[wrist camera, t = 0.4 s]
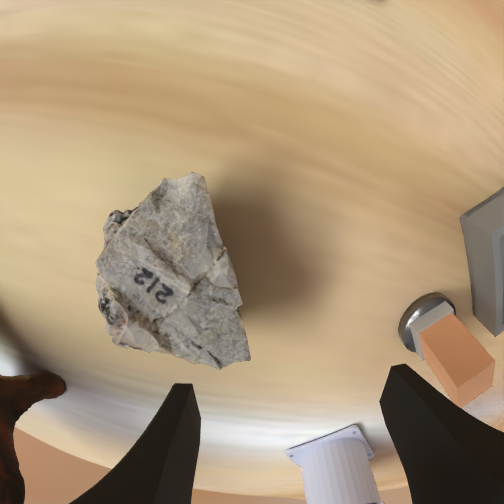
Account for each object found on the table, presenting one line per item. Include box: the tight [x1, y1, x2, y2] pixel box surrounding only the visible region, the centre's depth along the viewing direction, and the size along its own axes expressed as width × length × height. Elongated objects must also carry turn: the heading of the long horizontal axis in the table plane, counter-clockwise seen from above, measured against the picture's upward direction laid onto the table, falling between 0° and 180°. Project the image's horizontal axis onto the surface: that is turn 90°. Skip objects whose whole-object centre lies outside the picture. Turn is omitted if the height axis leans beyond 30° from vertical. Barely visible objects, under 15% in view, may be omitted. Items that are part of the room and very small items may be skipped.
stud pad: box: [398, 293, 456, 352], centre depth 21 cm, size 5×5×1 cm
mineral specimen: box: [96, 172, 251, 369], centre depth 17 cm, size 10×8×10 cm
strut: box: [409, 301, 495, 408], centre depth 17 cm, size 3×3×7 cm
